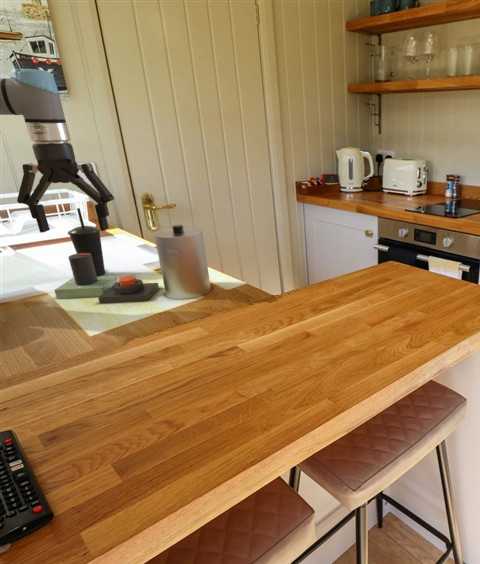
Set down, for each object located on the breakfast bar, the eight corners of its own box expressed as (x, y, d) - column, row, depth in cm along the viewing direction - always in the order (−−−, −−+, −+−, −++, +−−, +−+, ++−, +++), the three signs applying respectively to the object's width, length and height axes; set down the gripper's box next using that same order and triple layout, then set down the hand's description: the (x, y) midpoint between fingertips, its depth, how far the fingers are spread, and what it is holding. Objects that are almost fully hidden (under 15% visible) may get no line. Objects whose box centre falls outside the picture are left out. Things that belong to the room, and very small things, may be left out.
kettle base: (100, 305, 106) (96, 290, 105) (115, 292, 114) (112, 278, 113) (147, 303, 108) (144, 288, 107) (159, 290, 116) (156, 276, 115)
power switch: (117, 287, 108) (116, 281, 107) (123, 282, 111) (122, 276, 111) (133, 286, 109) (131, 280, 108) (138, 281, 112) (137, 275, 111)
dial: (72, 286, 110) (64, 257, 107) (81, 279, 114) (73, 252, 112) (92, 285, 111) (85, 256, 108) (101, 278, 115) (94, 251, 112)
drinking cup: (73, 278, 124) (54, 210, 117) (96, 269, 131) (79, 205, 124) (94, 280, 122) (76, 211, 115) (116, 272, 129) (101, 206, 122)
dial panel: (57, 300, 109) (53, 289, 107) (75, 287, 117) (72, 277, 116) (104, 298, 111) (101, 287, 109) (119, 285, 119) (116, 275, 118)
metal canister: (204, 302, 109) (192, 232, 102) (158, 305, 107) (143, 233, 100) (216, 283, 122) (206, 219, 115) (175, 285, 120) (162, 220, 113)
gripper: (-22, 143, 94) (9, 235, 102) (102, 143, 98) (122, 232, 106) (1, 141, 101) (28, 228, 109) (116, 141, 105) (134, 225, 113)
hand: (75, 230), depth 107 cm, fingers open, 13 cm apart
